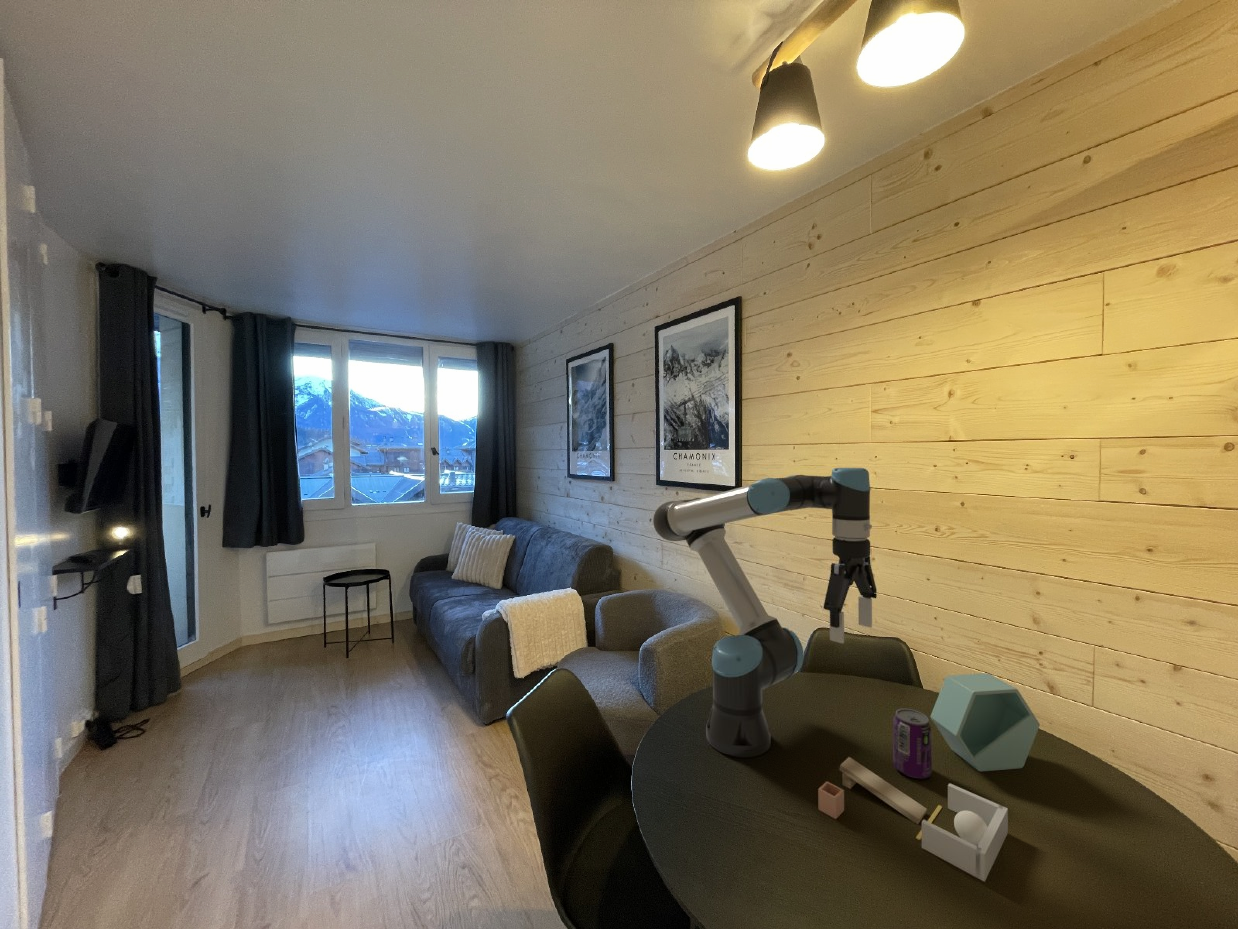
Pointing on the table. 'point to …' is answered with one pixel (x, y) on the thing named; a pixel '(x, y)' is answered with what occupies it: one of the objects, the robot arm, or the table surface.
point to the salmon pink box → (831, 799)
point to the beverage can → (912, 743)
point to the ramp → (880, 789)
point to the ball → (970, 827)
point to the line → (930, 820)
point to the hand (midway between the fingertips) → (851, 633)
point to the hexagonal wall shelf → (985, 721)
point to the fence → (960, 850)
